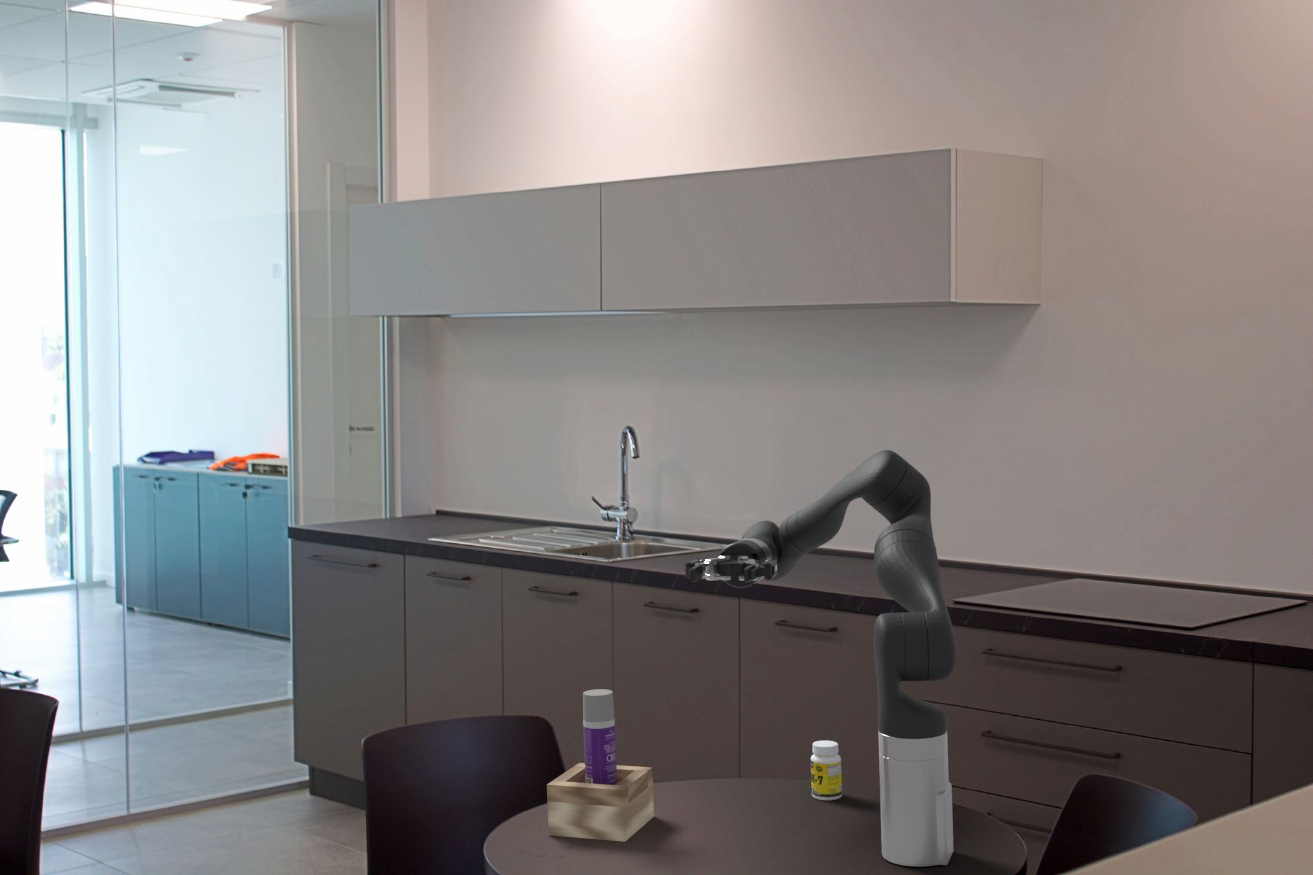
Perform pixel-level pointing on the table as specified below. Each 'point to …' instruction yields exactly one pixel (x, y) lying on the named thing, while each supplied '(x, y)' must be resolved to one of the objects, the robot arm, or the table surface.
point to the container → (599, 737)
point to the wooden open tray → (600, 804)
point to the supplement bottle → (826, 771)
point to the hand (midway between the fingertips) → (719, 575)
